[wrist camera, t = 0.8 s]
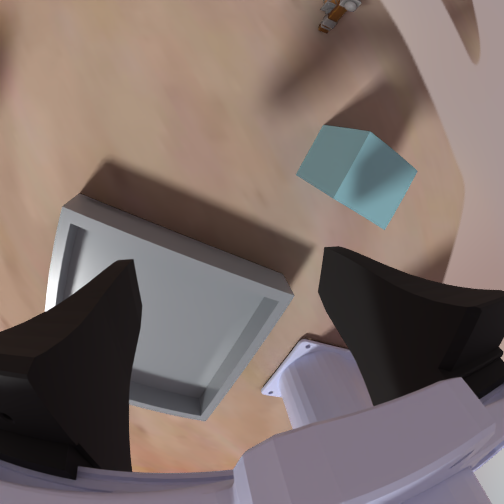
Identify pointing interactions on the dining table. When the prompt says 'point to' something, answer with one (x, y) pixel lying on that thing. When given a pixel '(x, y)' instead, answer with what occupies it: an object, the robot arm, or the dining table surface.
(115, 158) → the dining table surface
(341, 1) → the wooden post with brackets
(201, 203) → the dining table surface
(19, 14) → the dining table surface
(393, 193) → the block
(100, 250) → the tray
